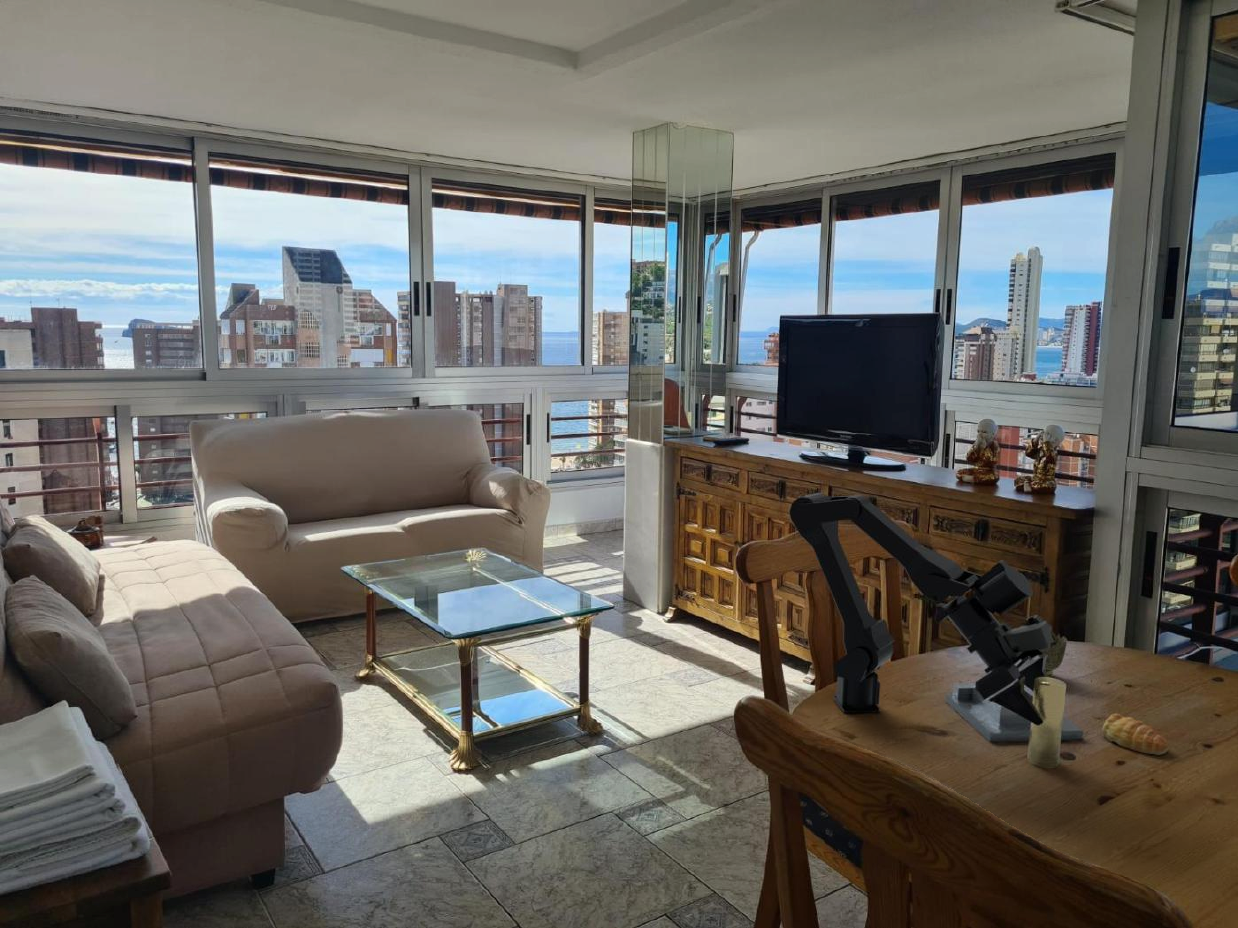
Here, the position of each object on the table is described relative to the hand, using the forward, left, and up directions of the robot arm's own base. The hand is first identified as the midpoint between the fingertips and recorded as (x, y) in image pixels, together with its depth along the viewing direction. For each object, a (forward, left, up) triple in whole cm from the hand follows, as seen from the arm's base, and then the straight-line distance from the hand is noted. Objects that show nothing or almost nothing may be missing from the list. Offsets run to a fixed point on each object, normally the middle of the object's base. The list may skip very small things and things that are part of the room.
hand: (1049, 714), depth 140 cm
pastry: (+19, +6, -8) cm, 21 cm away
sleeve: (0, 0, -8) cm, 8 cm away
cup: (+20, +34, -8) cm, 40 cm away
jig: (+3, +15, -8) cm, 17 cm away
